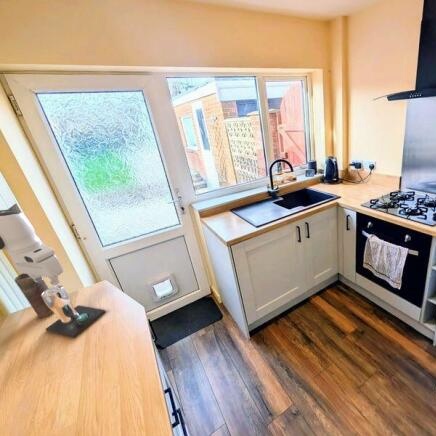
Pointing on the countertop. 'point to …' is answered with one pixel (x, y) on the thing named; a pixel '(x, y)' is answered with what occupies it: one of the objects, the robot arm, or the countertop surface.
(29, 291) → the candle
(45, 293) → the beer glass
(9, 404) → the countertop surface
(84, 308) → the scale
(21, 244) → the robot arm
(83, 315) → the button
